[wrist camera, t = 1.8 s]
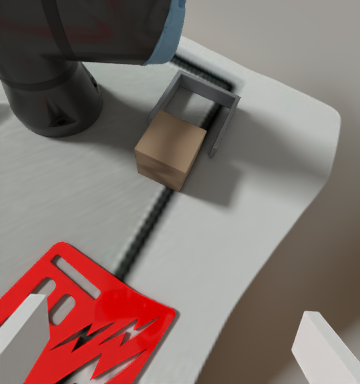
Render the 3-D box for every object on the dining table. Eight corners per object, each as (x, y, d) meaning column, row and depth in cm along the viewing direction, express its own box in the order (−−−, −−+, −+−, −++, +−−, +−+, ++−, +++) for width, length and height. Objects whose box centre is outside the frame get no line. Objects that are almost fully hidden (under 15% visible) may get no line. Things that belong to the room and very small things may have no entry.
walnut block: (138, 172, 37) (134, 149, 29) (158, 139, 39) (159, 109, 32) (179, 192, 36) (185, 173, 29) (196, 156, 39) (206, 130, 32)
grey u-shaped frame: (148, 127, 40) (147, 117, 37) (177, 81, 45) (179, 69, 42) (212, 157, 39) (217, 149, 37) (235, 107, 44) (240, 97, 41)
